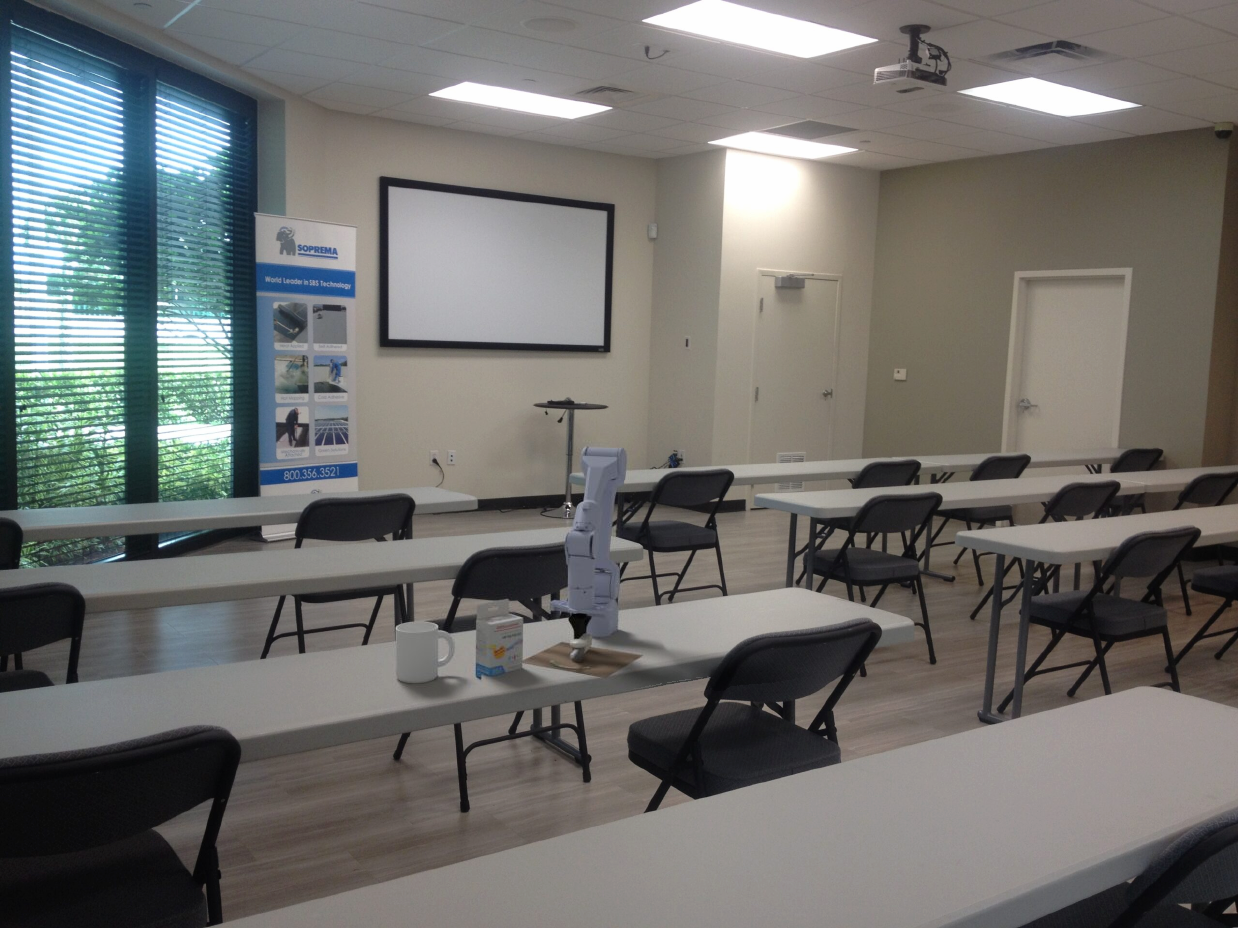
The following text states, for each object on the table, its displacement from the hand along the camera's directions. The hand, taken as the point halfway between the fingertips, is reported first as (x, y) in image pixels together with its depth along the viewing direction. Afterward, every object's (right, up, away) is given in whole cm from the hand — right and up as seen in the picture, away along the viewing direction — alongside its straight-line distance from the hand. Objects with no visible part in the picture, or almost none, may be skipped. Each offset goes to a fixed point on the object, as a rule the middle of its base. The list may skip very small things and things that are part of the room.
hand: (580, 646), depth 214 cm
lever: (0, -1, -7) cm, 7 cm away
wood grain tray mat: (+1, -2, -7) cm, 7 cm away
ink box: (-16, -3, -15) cm, 22 cm away
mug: (-30, -3, -17) cm, 35 cm away
